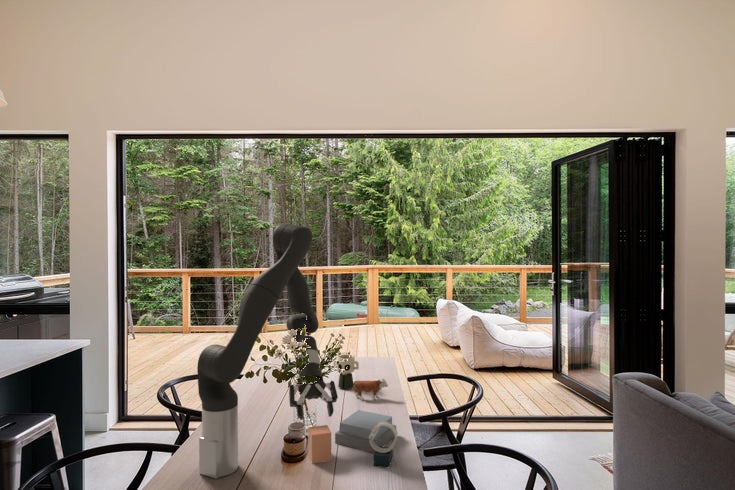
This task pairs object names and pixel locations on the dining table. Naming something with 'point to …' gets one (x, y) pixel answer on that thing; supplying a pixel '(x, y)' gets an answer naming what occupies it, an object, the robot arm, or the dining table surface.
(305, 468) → the dining table surface
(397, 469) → the dining table surface
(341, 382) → the character mug
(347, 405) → the dining table surface
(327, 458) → the terracotta brick
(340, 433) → the two-tier stepped box
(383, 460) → the grey ring on block
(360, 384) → the bull figurine
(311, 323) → the robot arm
